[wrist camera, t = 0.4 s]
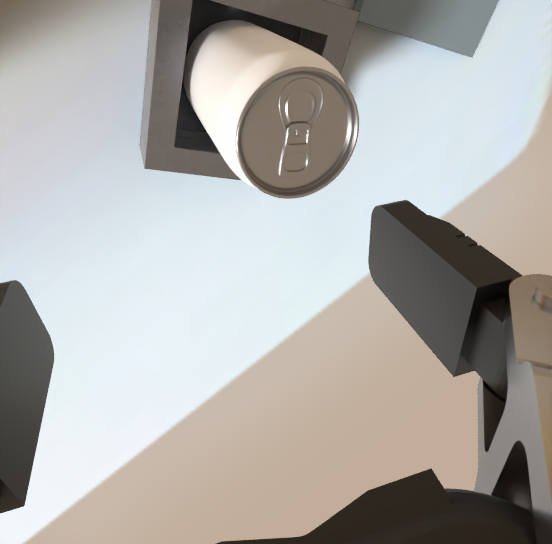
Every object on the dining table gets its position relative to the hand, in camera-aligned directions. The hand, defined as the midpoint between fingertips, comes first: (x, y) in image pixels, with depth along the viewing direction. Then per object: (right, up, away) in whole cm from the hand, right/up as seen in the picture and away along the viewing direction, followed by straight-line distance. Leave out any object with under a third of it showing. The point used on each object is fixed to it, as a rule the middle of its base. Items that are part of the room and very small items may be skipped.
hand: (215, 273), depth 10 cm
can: (-1, +13, +17) cm, 21 cm away
